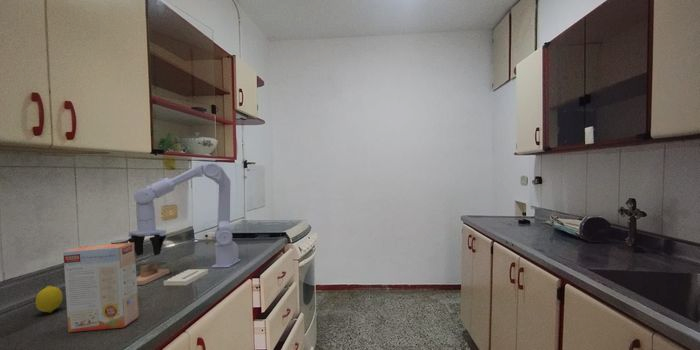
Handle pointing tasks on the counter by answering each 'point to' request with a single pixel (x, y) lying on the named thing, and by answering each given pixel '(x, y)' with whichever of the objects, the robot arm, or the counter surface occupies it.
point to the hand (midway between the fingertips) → (148, 254)
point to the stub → (150, 273)
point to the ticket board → (186, 277)
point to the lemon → (48, 299)
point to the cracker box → (101, 286)
